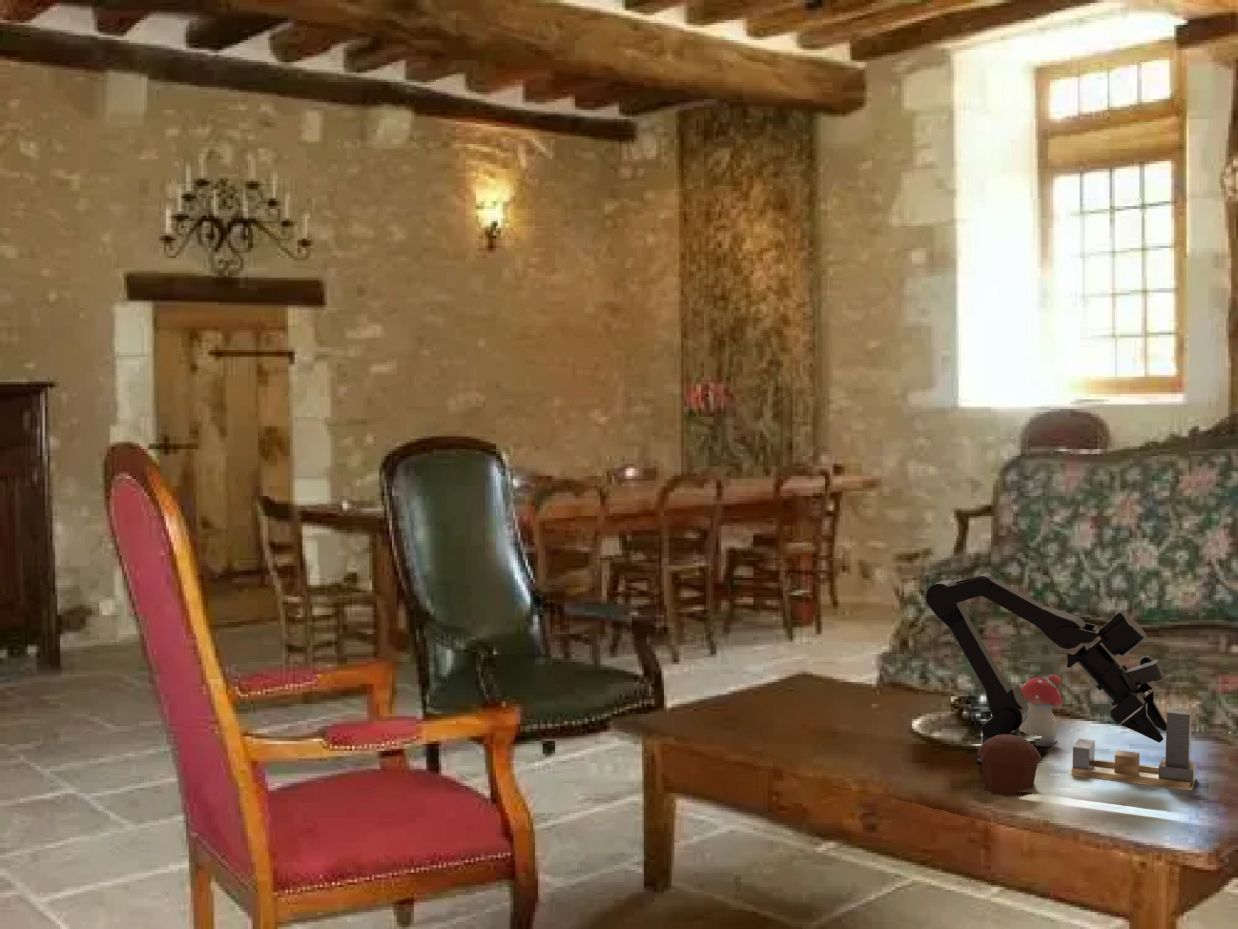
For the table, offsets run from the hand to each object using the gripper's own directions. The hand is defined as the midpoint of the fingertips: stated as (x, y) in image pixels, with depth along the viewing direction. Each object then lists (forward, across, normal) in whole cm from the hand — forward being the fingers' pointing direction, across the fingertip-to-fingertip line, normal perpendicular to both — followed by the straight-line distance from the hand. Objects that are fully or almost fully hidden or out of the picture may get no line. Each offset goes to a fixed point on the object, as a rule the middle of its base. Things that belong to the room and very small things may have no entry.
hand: (1164, 735), depth 264 cm
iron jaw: (-4, 0, +16) cm, 17 cm away
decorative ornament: (-11, +20, +26) cm, 35 cm away
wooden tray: (+3, 0, +11) cm, 11 cm away
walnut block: (+2, 0, +10) cm, 11 cm away
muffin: (-11, -16, +25) cm, 32 cm away
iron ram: (+8, 0, +4) cm, 8 cm away
